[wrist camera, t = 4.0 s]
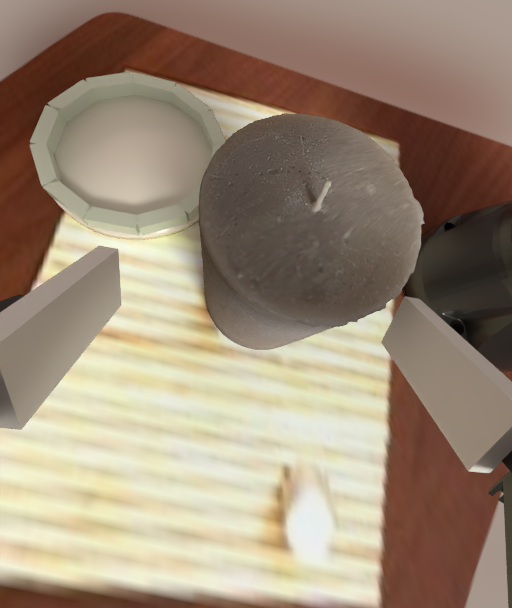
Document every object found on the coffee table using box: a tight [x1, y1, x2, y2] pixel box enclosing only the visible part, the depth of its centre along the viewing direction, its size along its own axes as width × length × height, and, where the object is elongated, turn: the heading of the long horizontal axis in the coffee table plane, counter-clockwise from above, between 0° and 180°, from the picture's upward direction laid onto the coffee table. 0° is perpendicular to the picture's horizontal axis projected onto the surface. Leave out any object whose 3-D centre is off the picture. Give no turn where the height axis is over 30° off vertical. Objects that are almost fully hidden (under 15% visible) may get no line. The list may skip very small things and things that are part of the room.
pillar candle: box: [199, 113, 425, 350], centre depth 17 cm, size 10×10×15 cm
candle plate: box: [30, 72, 226, 240], centre depth 25 cm, size 16×16×2 cm
